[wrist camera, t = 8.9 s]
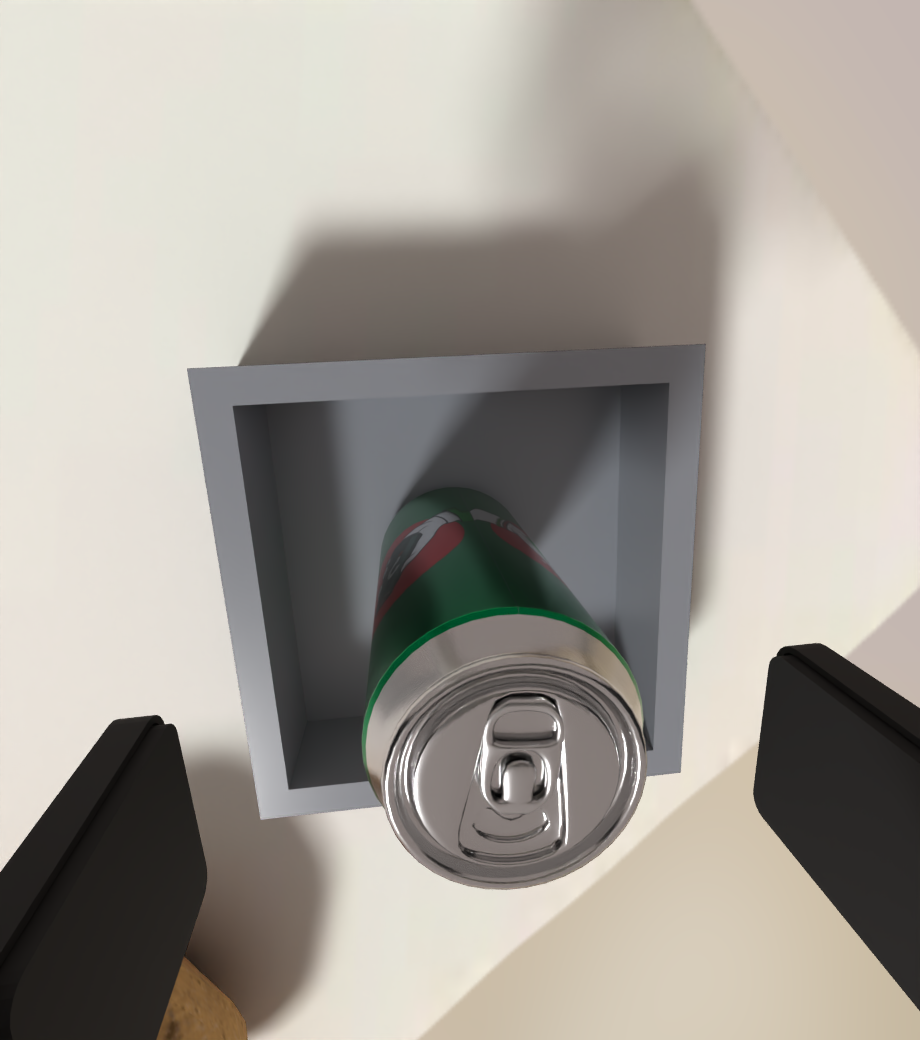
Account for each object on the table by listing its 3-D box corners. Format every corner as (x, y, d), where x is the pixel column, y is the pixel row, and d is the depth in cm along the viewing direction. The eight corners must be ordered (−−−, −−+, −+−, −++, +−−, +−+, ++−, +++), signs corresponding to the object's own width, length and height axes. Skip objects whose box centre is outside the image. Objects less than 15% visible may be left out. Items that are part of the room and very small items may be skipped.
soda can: (379, 616, 21) (354, 917, 9) (383, 480, 20) (359, 634, 8) (514, 618, 22) (647, 904, 10) (526, 486, 20) (694, 638, 9)
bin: (235, 369, 19) (186, 368, 15) (640, 350, 20) (705, 343, 16) (287, 734, 23) (260, 819, 18) (629, 699, 24) (680, 772, 20)
